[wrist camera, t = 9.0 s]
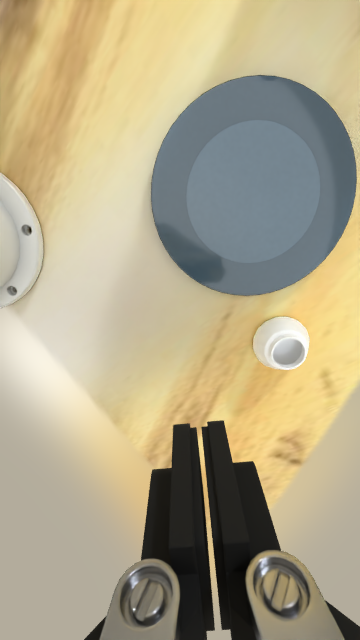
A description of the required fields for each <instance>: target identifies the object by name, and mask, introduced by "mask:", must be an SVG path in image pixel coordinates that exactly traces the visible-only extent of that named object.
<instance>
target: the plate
mask: <svg viewBox="0 0 360 640" xmlns="http://www.w3.org/2000/svg"><path fill="white" fill-rule="evenodd" d="M356 182H357V177H356V162H355V156H354V151H353V147H352V144H351V141H350V137H349V135H348V133H347V131H346V129H345V127H344V124H343V123H342V121H341V120H340V118H339V117H338V115H337V114H336V112H335V111H334V110H333V109H332V107H331V106H330V105H329V104H328V103H327V102H326V101H325V100H324V99H323V98H321V97H320V96H319V95H318V94H317V93H315V92H314V91H312V90H311V89H309V88H307V87H306V86H304V85H302V84H300V83H297V82H295V81H292V80H290V79H286V78H281V77H276V76H265V75H256V76H246V77H241V78H237V79H233V80H230V81H227V82H225V83H222V84H220V85H218V86H215V87H214V88H212V89H210V90H209V91H207V92H205V93H204V94H202V95H201V96H200V97H198V98H197V99H196V100H195V101H193V102H192V103H191V104H190V105H189V106H188V107H187V108H186V109H185V110H184V111H183V112H182V113H181V114H180V115H179V117H178V118H177V119H176V121H175V122H174V124H173V125H172V126H171V128H170V129H169V131H168V133H167V135H166V137H165V138H164V140H163V142H162V145H161V147H160V150H159V152H158V155H157V158H156V162H155V166H154V170H153V176H152V183H151V202H152V212H153V217H154V221H155V225H156V228H157V231H158V234H159V237H160V239H161V241H162V243H163V245H164V247H165V249H166V250H167V252H168V253H169V255H170V256H171V258H172V259H173V260H174V262H175V263H176V264H177V265H178V266H179V267H180V268H181V269H182V270H183V271H184V272H185V273H186V274H187V275H189V276H190V277H191V278H193V279H194V280H196V281H197V282H199V283H200V284H202V285H204V286H206V287H208V288H210V289H213V290H216V291H219V292H222V293H227V294H232V295H243V296H249V295H261V294H266V293H271V292H274V291H277V290H280V289H283V288H285V287H287V286H290V285H292V284H294V283H296V282H297V281H299V280H300V279H302V278H304V277H305V276H307V275H308V274H309V273H310V272H312V271H313V270H314V269H315V268H316V267H318V266H319V265H320V264H321V263H322V262H323V261H324V260H325V259H326V257H327V256H328V255H329V253H330V252H331V251H332V250H333V248H334V247H335V245H336V244H337V242H338V241H339V239H340V237H341V236H342V234H343V232H344V230H345V227H346V225H347V223H348V220H349V218H350V215H351V212H352V208H353V204H354V199H355V193H356Z"/></svg>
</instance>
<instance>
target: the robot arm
mask: <svg viewBox="0 0 360 640" xmlns="http://www.w3.org/2000/svg"><path fill="white" fill-rule="evenodd" d="M30 227H31V229H32V233H31V232H30V231H29V228H30ZM43 254H44V253H43V237H42V233H41V228H40V224H39V222H38V219H37V217H36V214H35V212H34V210H33V208H32V206H31V205H30V203H29V201H28V200H27V198H26V197H25V195H24V194H23V193H22V192H21V191H20V190H19V188H18V187H17V186H16V185H15V184H14V183H13V182H12V181H10V180H9V179H8V178H7V177H6V176H4V175H3V174H2V173H0V308H3V307H5V306H8V305H10V304H12V303H14V302H15V301H17V300H19V299H20V298H22V297H23V296H24V295H25V294H26V293H27V292H28V291H29V290H30V289H31V287H32V286H33V284H34V283H35V281H36V280H37V277H38V275H39V272H40V269H41V267H42V260H43ZM15 288H16V289H15ZM16 290H17V291H16ZM207 424H208V426H207V427H202V437H203V447H204V457H205V467H206V478H207V488H208V498H209V508H210V518H211V528H212V538H213V548H214V558H215V568H216V578H217V587H218V597H219V606H220V616H221V626H222V630H229V629H230V630H231V638H232V640H360V627H359V626H358V625H356V624H355V623H354V622H353V621H351V620H350V619H349V618H347V617H346V616H345V615H344V614H342V613H341V612H340V611H338V610H337V609H336V608H335V607H333V606H332V605H331V604H329V603H328V602H327V601H325V600H324V598H323V596H322V595H321V592H320V590H319V588H318V586H317V585H316V583H315V580H314V578H313V577H312V575H311V574H310V572H309V571H308V569H307V568H306V567H305V565H304V564H303V563H301V562H300V561H299V560H298V559H297V558H296V557H294V556H292V555H290V554H288V553H287V552H283V551H281V549H280V546H279V542H278V539H277V536H276V533H275V529H274V526H273V523H272V520H271V516H270V513H269V509H268V506H267V503H266V500H265V496H264V493H263V490H262V486H261V483H260V480H259V477H258V473H257V470H256V467H255V464H254V462H253V461H250V462H238V463H233V462H232V457H231V453H230V448H229V443H228V439H227V434H226V429H225V425H224V421H211V422H207ZM213 630H215V628H214V614H213V603H212V590H211V578H210V566H209V554H208V541H207V529H206V517H205V505H204V493H203V484H202V475H201V465H200V456H199V447H198V438H197V429H196V427H195V428H190V423H189V424H177V425H173V447H172V468H166V469H154V470H152V474H151V481H150V490H149V499H148V506H147V515H146V523H145V532H144V540H143V549H142V557H141V561H140V562H137V563H135V564H134V565H132V566H131V567H130V568H129V569H127V570H126V571H125V573H124V574H123V575H122V577H121V578H120V579H119V582H118V584H117V586H116V588H115V591H114V594H113V597H112V600H111V603H110V607H109V610H108V613H107V616H106V617H105V618H104V619H103V620H102V621H101V622H100V623H99V624H98V625H97V626H96V628H95V629H94V630H93V631H92V632H91V633H90V634H89V635H88V636H87V637H86V638H85V639H84V640H207V633H206V631H213Z"/></svg>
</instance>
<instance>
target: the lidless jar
mask: <svg viewBox="0 0 360 640" xmlns="http://www.w3.org/2000/svg"><path fill="white" fill-rule="evenodd" d="M309 339H310V338H309V335H308V332H307V330H306V328H305V327H304V326H303V325H302V324H301V323H300V322H299V321H298V320H295V319H293V318H290V317H275V318H273V319H270V320H268V321H266V322H264V323H263V324H262V325H261V326H260V327H259V328H258V329H257V331H256V334H255V336H254V338H253V350H254V352H255V355H256V357H257V359H258V360H259V361H260V362H261V363H263V364H264V365H265V366H267V367H270V368H273V369H284V370H290V369H294V368H296V367H298V366H300V365H301V364H302V363H303V362H304V360H305V358H306V356H307V353H308V349H309Z"/></svg>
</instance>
